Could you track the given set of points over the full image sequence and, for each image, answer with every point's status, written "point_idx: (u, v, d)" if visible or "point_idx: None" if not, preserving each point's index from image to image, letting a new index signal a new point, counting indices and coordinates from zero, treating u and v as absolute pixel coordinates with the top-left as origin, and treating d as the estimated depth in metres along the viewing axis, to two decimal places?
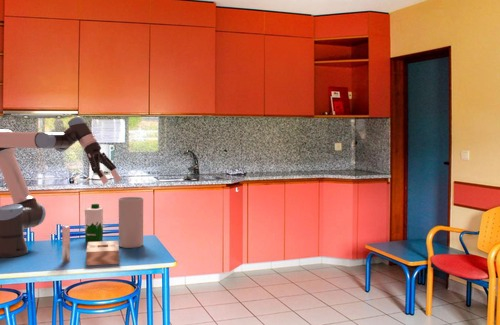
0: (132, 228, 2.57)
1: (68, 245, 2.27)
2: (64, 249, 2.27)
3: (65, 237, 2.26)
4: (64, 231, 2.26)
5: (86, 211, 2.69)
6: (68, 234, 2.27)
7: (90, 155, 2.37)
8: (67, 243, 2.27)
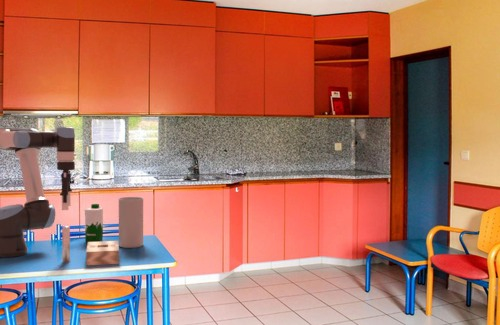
0: (132, 228, 2.57)
1: (68, 245, 2.27)
2: (64, 249, 2.27)
3: (65, 237, 2.26)
4: (64, 231, 2.26)
5: (86, 211, 2.69)
6: (68, 234, 2.27)
7: (66, 175, 2.20)
8: (67, 243, 2.27)
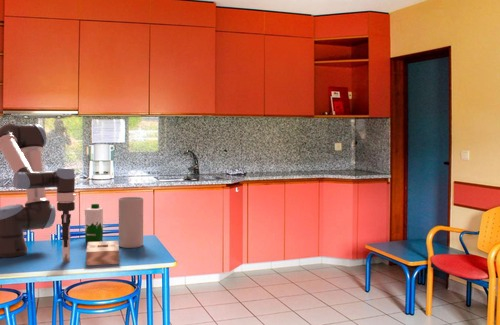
0: (132, 228, 2.57)
1: None
2: None
3: None
4: None
5: (86, 211, 2.69)
6: None
7: (66, 221, 2.22)
8: None
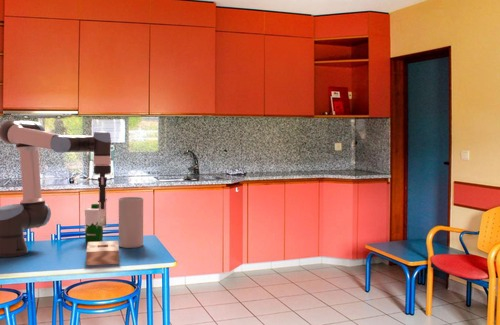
0: (132, 228, 2.57)
1: None
2: None
3: None
4: None
5: (86, 211, 2.69)
6: None
7: (103, 183, 2.27)
8: None
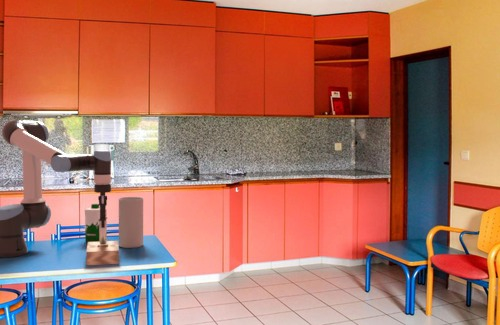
0: (132, 228, 2.57)
1: None
2: None
3: None
4: None
5: (86, 211, 2.69)
6: None
7: (103, 202, 2.28)
8: None
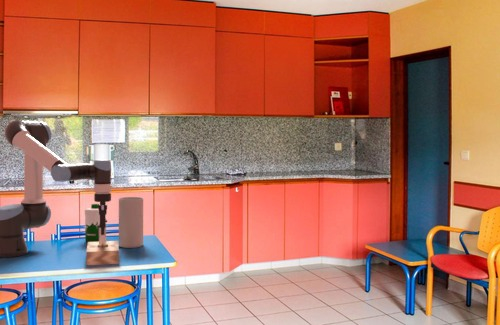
0: (132, 228, 2.57)
1: (104, 242, 2.34)
2: (101, 246, 2.33)
3: None
4: None
5: (86, 211, 2.69)
6: None
7: (103, 208, 2.27)
8: None
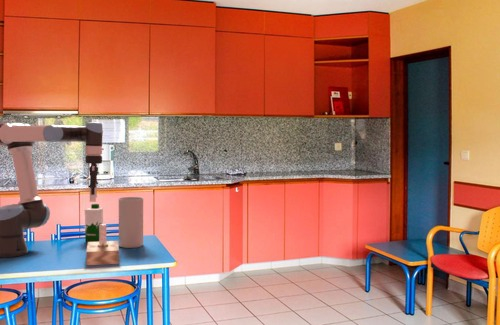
0: (132, 228, 2.57)
1: (105, 242, 2.34)
2: (101, 246, 2.33)
3: (102, 234, 2.33)
4: (101, 229, 2.33)
5: (86, 211, 2.69)
6: (105, 232, 2.34)
7: (94, 169, 2.30)
8: (104, 240, 2.33)
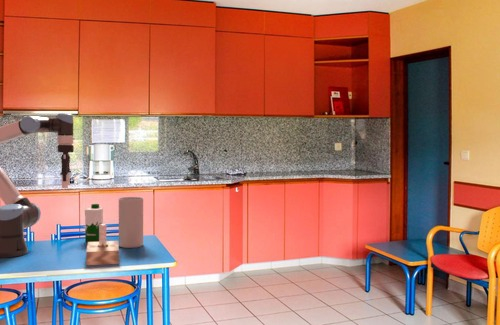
0: (132, 228, 2.57)
1: (105, 242, 2.34)
2: (101, 246, 2.33)
3: (102, 234, 2.33)
4: (101, 229, 2.33)
5: (86, 211, 2.69)
6: (105, 232, 2.34)
7: (65, 157, 2.45)
8: (104, 240, 2.33)
